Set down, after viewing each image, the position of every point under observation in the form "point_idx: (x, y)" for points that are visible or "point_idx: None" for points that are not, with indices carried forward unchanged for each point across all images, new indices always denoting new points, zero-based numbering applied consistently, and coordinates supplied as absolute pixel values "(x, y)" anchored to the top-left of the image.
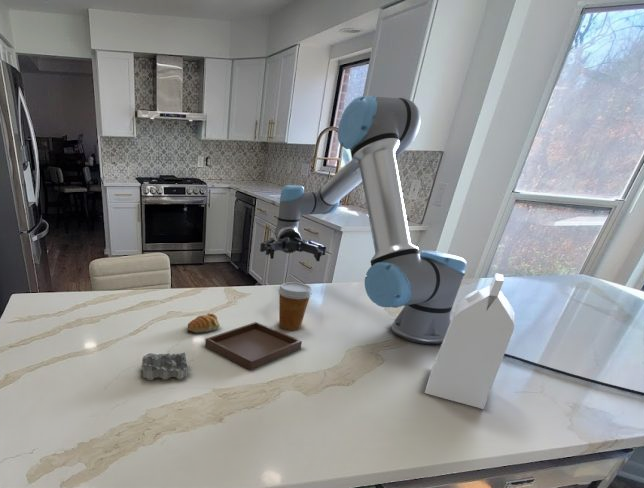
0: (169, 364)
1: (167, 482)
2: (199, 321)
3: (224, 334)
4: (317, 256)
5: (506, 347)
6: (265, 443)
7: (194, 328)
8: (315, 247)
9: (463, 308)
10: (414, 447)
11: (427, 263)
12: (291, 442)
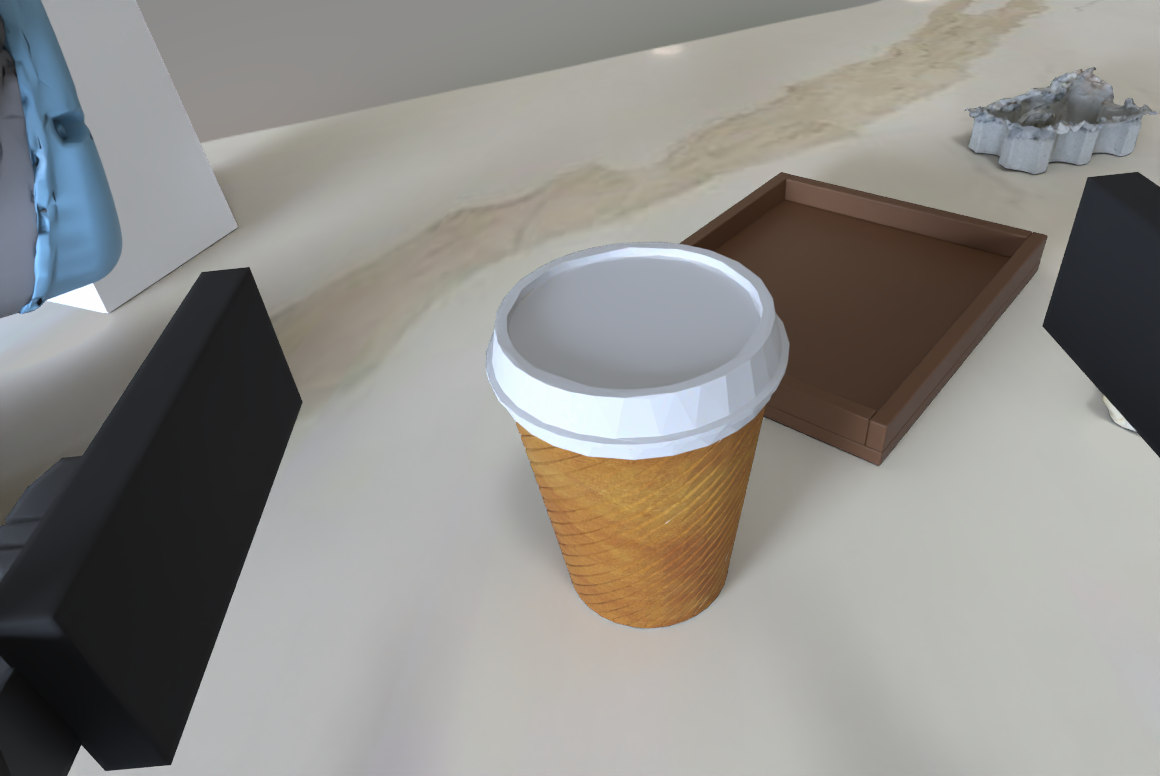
0: (1035, 108)
1: (822, 23)
2: None
3: (988, 283)
4: (274, 348)
5: None
6: (685, 76)
7: None
8: (83, 574)
9: None
10: (396, 116)
11: None
12: (635, 85)
